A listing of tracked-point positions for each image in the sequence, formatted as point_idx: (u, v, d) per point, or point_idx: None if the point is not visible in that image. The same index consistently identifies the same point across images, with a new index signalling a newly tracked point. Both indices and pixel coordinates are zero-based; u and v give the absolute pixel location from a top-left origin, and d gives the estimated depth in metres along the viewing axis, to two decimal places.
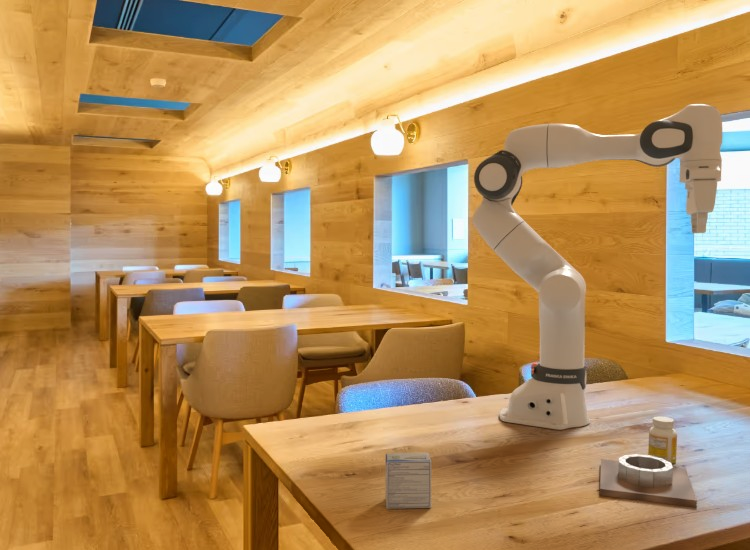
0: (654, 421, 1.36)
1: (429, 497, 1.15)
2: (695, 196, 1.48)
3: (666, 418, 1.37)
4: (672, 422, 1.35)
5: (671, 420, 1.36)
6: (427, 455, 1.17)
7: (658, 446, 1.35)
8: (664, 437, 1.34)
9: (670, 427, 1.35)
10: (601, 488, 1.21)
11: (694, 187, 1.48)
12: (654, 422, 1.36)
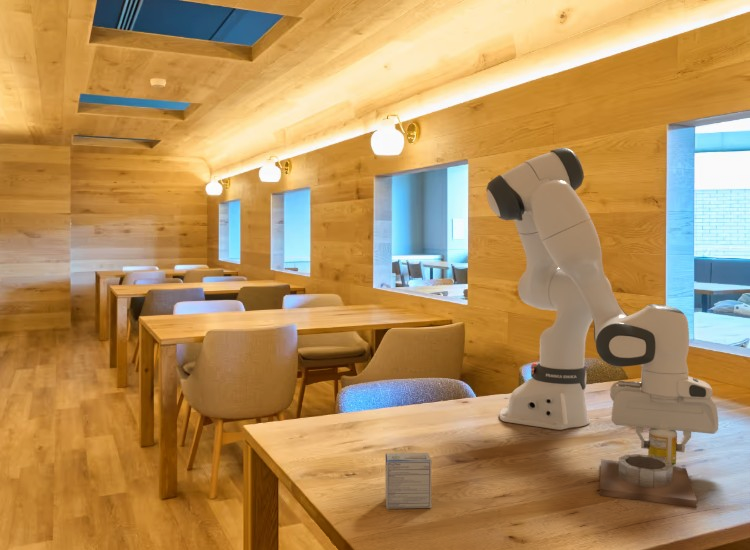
0: None
1: (429, 497, 1.15)
2: (717, 417, 1.31)
3: None
4: None
5: None
6: (427, 455, 1.17)
7: (658, 446, 1.35)
8: (664, 437, 1.34)
9: None
10: (601, 488, 1.21)
11: (715, 407, 1.31)
12: None
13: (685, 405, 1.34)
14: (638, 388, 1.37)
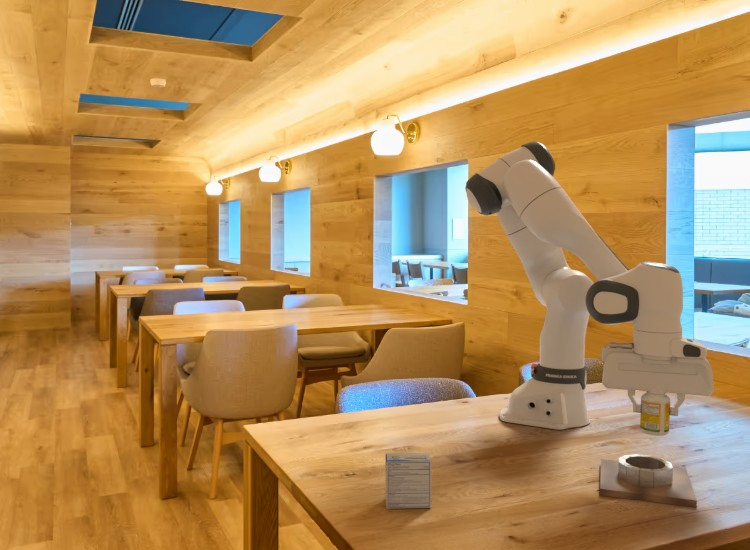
0: None
1: (429, 497, 1.15)
2: (712, 378, 1.26)
3: None
4: None
5: None
6: (427, 455, 1.17)
7: (650, 412, 1.29)
8: (656, 403, 1.29)
9: (663, 393, 1.29)
10: (601, 488, 1.21)
11: (710, 368, 1.25)
12: None
13: (679, 366, 1.28)
14: (630, 349, 1.32)
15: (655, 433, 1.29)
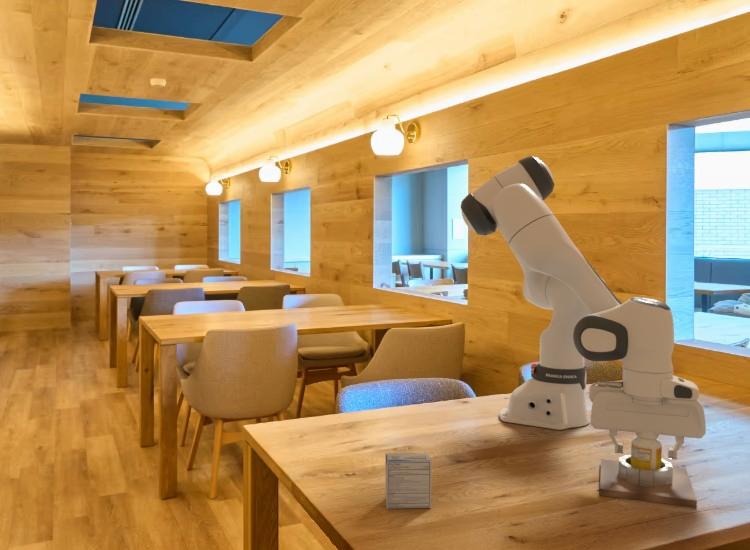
0: None
1: (429, 497, 1.15)
2: (704, 420, 1.20)
3: None
4: None
5: None
6: (427, 455, 1.17)
7: (641, 458, 1.24)
8: (647, 449, 1.23)
9: (654, 437, 1.24)
10: (601, 488, 1.21)
11: (702, 410, 1.20)
12: None
13: (670, 407, 1.23)
14: (619, 388, 1.26)
15: None
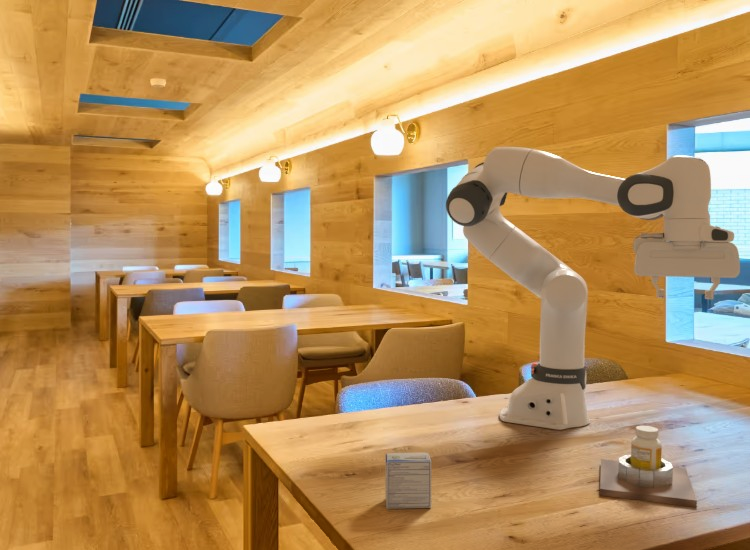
0: (637, 431, 1.25)
1: (429, 497, 1.15)
2: (738, 260, 1.35)
3: (650, 427, 1.26)
4: (656, 432, 1.24)
5: (655, 430, 1.25)
6: (427, 455, 1.17)
7: (641, 458, 1.24)
8: (647, 449, 1.23)
9: (654, 437, 1.24)
10: (601, 488, 1.21)
11: (737, 251, 1.35)
12: (637, 432, 1.25)
13: (707, 251, 1.37)
14: (661, 239, 1.41)
15: None
